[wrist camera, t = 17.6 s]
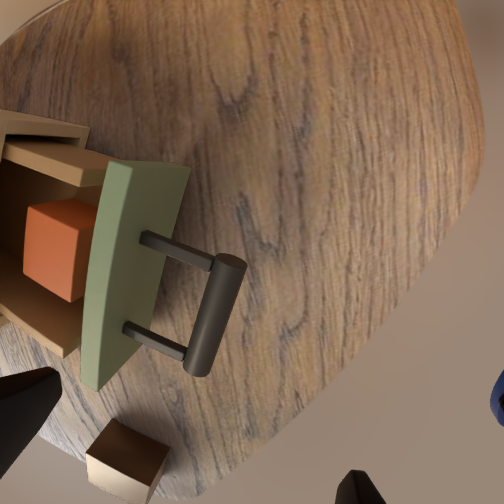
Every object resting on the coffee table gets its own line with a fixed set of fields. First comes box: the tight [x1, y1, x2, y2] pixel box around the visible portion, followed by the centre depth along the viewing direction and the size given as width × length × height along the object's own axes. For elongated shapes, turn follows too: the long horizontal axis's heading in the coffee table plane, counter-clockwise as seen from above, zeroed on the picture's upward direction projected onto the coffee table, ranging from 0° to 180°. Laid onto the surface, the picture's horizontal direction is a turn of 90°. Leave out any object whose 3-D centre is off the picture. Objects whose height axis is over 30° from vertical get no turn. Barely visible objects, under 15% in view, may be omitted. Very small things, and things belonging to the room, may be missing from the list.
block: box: [23, 198, 98, 302], centre depth 16 cm, size 4×4×4 cm
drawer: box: [0, 134, 248, 392], centre depth 16 cm, size 23×11×6 cm, turn 71°
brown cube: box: [85, 419, 170, 504], centre depth 22 cm, size 6×6×5 cm
